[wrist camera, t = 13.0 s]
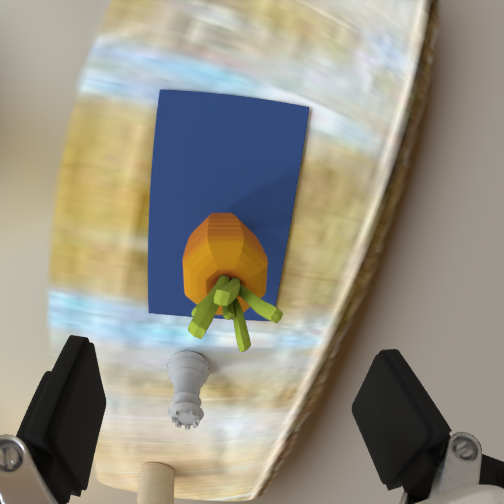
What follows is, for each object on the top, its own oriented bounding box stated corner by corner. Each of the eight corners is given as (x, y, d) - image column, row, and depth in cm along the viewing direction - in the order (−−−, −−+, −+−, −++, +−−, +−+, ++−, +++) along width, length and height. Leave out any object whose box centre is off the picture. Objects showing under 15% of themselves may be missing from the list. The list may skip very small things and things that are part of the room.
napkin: (160, 90, 23) (159, 89, 22) (308, 107, 24) (309, 107, 24) (149, 310, 30) (148, 313, 29) (271, 319, 32) (272, 321, 31)
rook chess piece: (190, 341, 32) (187, 399, 24) (217, 367, 33) (220, 424, 26) (159, 360, 32) (150, 416, 25) (186, 384, 34) (183, 439, 27)
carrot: (259, 206, 27) (310, 298, 13) (235, 257, 28) (258, 381, 15) (204, 183, 26) (194, 256, 12) (181, 237, 27) (156, 353, 13)
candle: (149, 458, 40) (144, 512, 30) (180, 469, 41) (180, 522, 32) (135, 469, 41) (130, 520, 32) (165, 479, 43) (163, 529, 33)
